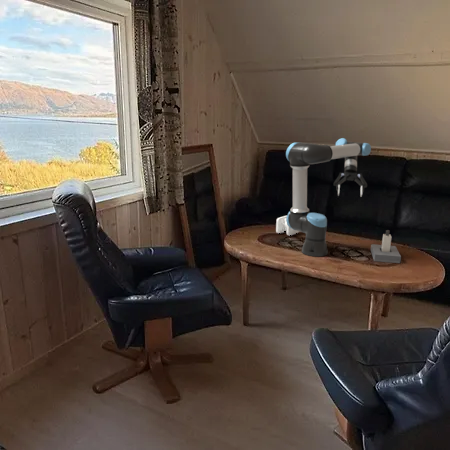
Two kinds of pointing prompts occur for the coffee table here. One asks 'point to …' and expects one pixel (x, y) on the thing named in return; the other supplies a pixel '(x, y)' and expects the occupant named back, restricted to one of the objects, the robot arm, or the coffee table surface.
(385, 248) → the plug
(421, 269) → the coffee table surface
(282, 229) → the cable organizer
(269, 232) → the coffee table surface
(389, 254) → the socket panel
